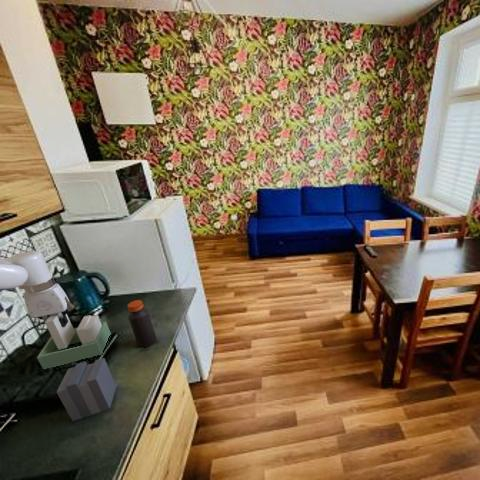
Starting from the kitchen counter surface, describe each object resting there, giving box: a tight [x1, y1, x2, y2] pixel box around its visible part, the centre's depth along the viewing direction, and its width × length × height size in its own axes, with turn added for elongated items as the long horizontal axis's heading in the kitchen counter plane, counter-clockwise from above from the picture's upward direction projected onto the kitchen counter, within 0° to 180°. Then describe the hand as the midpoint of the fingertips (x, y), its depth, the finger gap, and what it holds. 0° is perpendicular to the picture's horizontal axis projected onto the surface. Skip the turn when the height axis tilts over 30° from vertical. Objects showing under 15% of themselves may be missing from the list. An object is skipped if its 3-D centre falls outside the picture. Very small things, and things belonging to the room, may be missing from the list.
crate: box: [36, 321, 112, 370], centre depth 106 cm, size 18×14×8 cm
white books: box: [76, 314, 102, 345], centre depth 107 cm, size 4×9×13 cm, turn 24°
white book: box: [44, 313, 75, 350], centre depth 102 cm, size 2×9×13 cm, turn 24°
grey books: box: [56, 357, 117, 422], centre depth 85 cm, size 10×9×14 cm
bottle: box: [127, 299, 158, 349], centre depth 109 cm, size 7×7×20 cm
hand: (59, 325), depth 101 cm, fingers closed on white book, 2 cm apart
